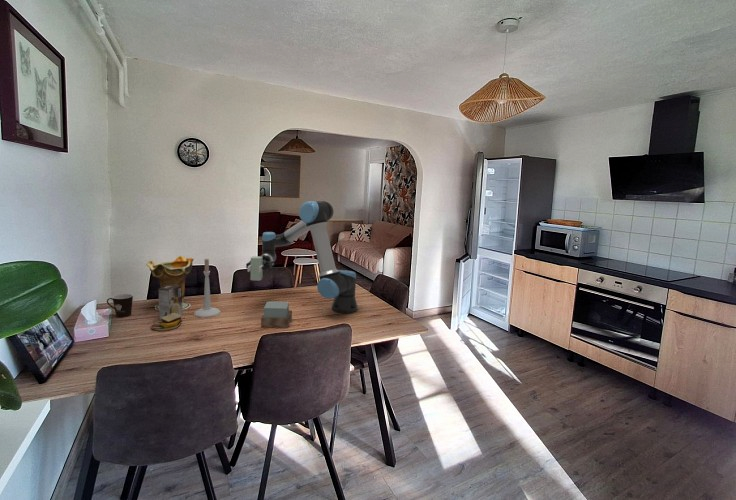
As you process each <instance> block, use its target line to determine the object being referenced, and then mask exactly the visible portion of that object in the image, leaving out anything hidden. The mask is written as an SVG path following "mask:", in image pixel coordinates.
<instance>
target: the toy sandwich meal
mask: <svg viewBox="0 0 736 500" xmlns="http://www.w3.org/2000/svg"><path fill="white" fill-rule="evenodd" d="M182 322H183V319H182V316H181V315H180V314H177V313H171V314H169V315H167V316H164V317H162V318H161V319H160V320H159V321H156V322H153V323H152V324H151V325H150V328H151V329H152V330H154V331H157V332H167V331H172V330H174V329H177V328H179V326H181V324H182Z"/></svg>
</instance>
